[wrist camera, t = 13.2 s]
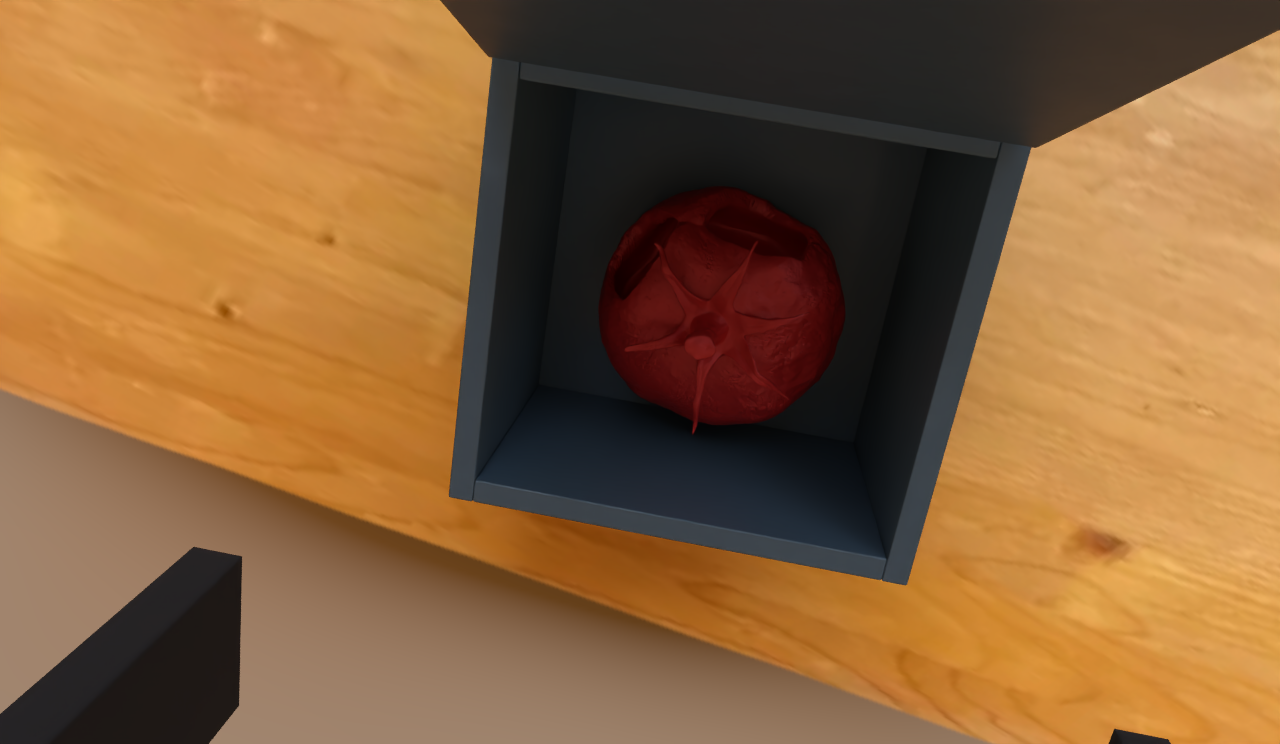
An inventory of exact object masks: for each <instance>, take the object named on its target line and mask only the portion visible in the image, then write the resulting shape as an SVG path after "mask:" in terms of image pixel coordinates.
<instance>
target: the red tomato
mask: <svg viewBox="0 0 1280 744" xmlns="http://www.w3.org/2000/svg"><path fill="white" fill-rule="evenodd" d="M598 309H599V311H598V313H599V327H600V333H601V339H602V343H603V345H604V347H605V349H606V352H607V354H608V357H609V359H610V362H611V363H612V365H613V367H614V369H615V370H616V371H617V373H618V374H619V375H620V376H621V378H622V379H623V380H624V381H625V382H626V384H627V385H628V386H629V388H630V389H631V390H632V391H633V392H634V393H635V394H637V395H638V396H639V397H641V398H643V399H645V400H647V401H649V402H651V403H655V404H657V405H659V406H662V407H664V408H666V409H669V410H671V411H673V412H675V413H676V414H679V415H681V416H682V417H685V418H687V419H689V420H691V421H693V429H692V435H693V434H694V431H695V429H696V427H697V423H698V422H702V423H706V424H711V425H733V424H750V423H759V422H762V421H766V420H768V419H771V418H773V417H775V416H777V415H778V414H780V413H782V412H783V411H784V410H786V408H788V407H789V406H790V405H791V404H792V403H794V402H795V401H796V400H797V399H799V398H800V397H801V396H802V395H803V394H804V393H805V392H807V390H808V389H809V388H810V387H812V386H813V385H814V384H815V383H816V382H818V381H819V380H820V378H821V376H822V375H823V373H824V371H825V370H826V369H827V367H828V366H829V364H830V363H831V361H832V359H833V357H834V355H835V351H836V346H837V343H838V340H839V338H840V336H841V333H842V330H843V327H844V322H845V316H846V313H845V300H844V294H843V291H842V287H841V282H840V277H839V274H838V271H837V267H836V262H835V259H834V256H833V254H832V252H831V250H830V248H829V246H828V245H827V243H826V242H825V241H824V239H823V238H822V236H821V235H820V234H819V232H818V231H817V230H816V229H814V228H812V227H810V226H808V225H806V224H804V223H802V222H800V221H799V220H797V219H795V218H793V217H792V216H791V215H789V214H787V213H785V212H783V211H782V210H780V209H778V208H776V207H774V205H773V204H772V203H771V202H770V201H768V200H766V199H763V198H760V197H757V196H755V195H752V194H750V193H748V192H746V191H744V190H742V189H739V188H735V187H728V186H712V187H706V188H703V189H699V190H691V191H686V192H682V193H679V194H676V195H674V196H672V197H670V198H668V199H666V200H664V201H662V202H660V203H658V204H657V205H655V206H654V207H652V208H651V209H650V210H648V211H647V212H645V213H644V214H643V215H642V216H641V217H640V218H639V219H638V220H637V221H636V223H635V224H633V225H632V226H631V227H629V229H628V230H627V231H626V232H625V233H624V234H623V237H621V240H620V242H619V244H618V247H617V249H616V251H615V252H614V253H613V255H612V257H611V259H610V261H609V264H608V266H607V269H606V273H605V277H604V280H603V286H602V288H601V294H600V300H599V306H598Z"/></svg>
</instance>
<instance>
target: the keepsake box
mask: <svg viewBox="0 0 1280 744" xmlns="http://www.w3.org/2000/svg"><path fill="white" fill-rule="evenodd" d="M1030 150H1031V147H1028V146H1022V145H1016V144H1010V143H1004V142H998V141H992V140H985V139H979V138H973V137H967V136H961V135H955V134H949V133H943V132H937V131H931V130H925V129H919V128H913V127H907V126H901V125H895V124H889V123H883V122H877V121H871V120H865V119H859V118H853V117H847V116H841V115H835V114H829V113H823V112H817V111H811V110H805V109H799V108H793V107H787V106H781V105H775V104H769V103H763V102H757V101H751V100H745V99H739V98H733V97H727V96H721V95H715V94H709V93H703V92H697V91H691V90H685V89H679V88H673V87H667V86H661V85H655V84H649V83H643V82H637V81H631V80H625V79H619V78H613V77H607V76H601V75H595V74H589V73H583V72H577V71H571V70H565V69H559V68H553V67H547V66H541V65H535V64H529V63H523V62H517V61H511V60H504V59H498V58H492V67H491V77H490V87H489V97H488V107H487V117H486V127H485V137H484V147H483V157H482V167H481V177H480V187H479V198H478V208H477V218H476V228H475V238H474V248H473V258H472V268H471V278H470V288H469V298H468V308H467V318H466V328H465V338H464V348H463V359H462V369H461V379H460V389H459V399H458V409H457V419H456V429H455V439H454V449H453V459H452V469H451V479H450V489H449V497H452V498H457V499H462V500H467V501H472V500H473V501H474V502H479V503H484V504H489V505H495V506H500V507H505V508H510V509H515V510H520V511H526V512H531V513H536V514H541V515H546V516H551V517H557V518H562V519H567V520H572V521H577V522H582V523H588V524H593V525H598V526H603V527H608V528H613V529H619V530H624V531H629V532H634V533H639V534H644V535H650V536H655V537H660V538H665V539H670V540H675V541H681V542H686V543H691V544H696V545H701V546H706V547H712V548H717V549H722V550H727V551H732V552H737V553H743V554H748V555H753V556H758V557H763V558H768V559H774V560H779V561H784V562H789V563H794V564H799V565H805V566H810V567H815V568H820V569H825V570H830V571H836V572H841V573H846V574H851V575H856V576H862V577H867V578H872V579H877V580H881V579H882V581H886V582H891V583H896V584H901V585H907V583H908V579H909V576H910V572H911V569H912V565H913V561H914V558H915V554H916V551H917V547H918V544H919V540H920V537H921V533H922V530H923V526H924V523H925V519H926V516H927V512H928V509H929V505H930V502H931V498H932V495H933V491H934V488H935V484H936V481H937V477H938V474H939V470H940V467H941V463H942V460H943V456H944V452H945V449H946V445H947V442H948V438H949V435H950V431H951V428H952V424H953V421H954V417H955V414H956V410H957V407H958V403H959V400H960V396H961V393H962V389H963V386H964V382H965V379H966V375H967V372H968V368H969V365H970V361H971V358H972V354H973V350H974V347H975V343H976V340H977V336H978V333H979V329H980V326H981V322H982V319H983V315H984V312H985V308H986V305H987V301H988V298H989V294H990V291H991V287H992V284H993V280H994V277H995V273H996V270H997V266H998V263H999V259H1000V256H1001V252H1002V249H1003V245H1004V241H1005V238H1006V234H1007V231H1008V227H1009V224H1010V220H1011V217H1012V213H1013V210H1014V206H1015V203H1016V199H1017V196H1018V192H1019V189H1020V185H1021V182H1022V178H1023V175H1024V171H1025V168H1026V164H1027V161H1028V157H1029V154H1030ZM712 186H728V187H735V188H739V189H742V190H744V191H746V192H748V193H750V194H752V195H755V196H757V197H760V198H763V199H766V200H768V201H770V202H771V203H772V204H773V205H774V207H776V208H778V209H780V210H782V211H783V212H785V213H787V214H789V215H791V216H792V217H793V218H795V219H797V220H799V221H800V222H802V223H804V224H806V225H808V226H810V227H812V228H814V229H816V230H817V231H818V232H819V234H820V235H821V236H822V238H823V239H824V241H825V242H826V243H827V245H828V246H829V248H830V250H831V252H832V254H833V256H834V259H835V262H836V267H837V271H838V274H839V277H840V282H841V287H842V291H843V294H844V300H845V313H846V316H845V322H844V327H843V330H842V333H841V336H840V338H839V340H838V343H837V346H836V351H835V355H834V357H833V359H832V361H831V363H830V364H829V366H828V367H827V369H826V370H825V371H824V373H823V375H822V376H821V378H820V380H819V381H818V382H816V383H815V384H814V385H813V386H812V387H810V388H809V389H808V390H807V392H805V393H804V394H803V395H802V396H801V397H800V398H799V399H797V400H796V401H795V402H794V403H792V404H791V405H790V406H789V407H788V408H786V410H784V411H783V412H782V413H780V414H778V415H777V416H775V417H773V418H771V419H768V420H766V421H762V422H759V423H750V424H733V425H711V424H706V423H702V422H698V423H697V427H696V429H695V431H694V434H693V435H692V429H693V421H691V420H689V419H687V418H685V417H682V416H681V415H679V414H676V413H675V412H673V411H671V410H669V409H666V408H664V407H662V406H659V405H657V404H655V403H651V402H649V401H647V400H645V399H643V398H641V397H639V396H638V395H637V394H635V393H634V392H633V391H632V390H631V389H630V388H629V386H628V385H627V384H626V382H625V381H624V380H623V379H622V378H621V376H620V375H619V374H618V373H617V371H616V370H615V369H614V367H613V365H612V363H611V362H610V359H609V357H608V354H607V352H606V349H605V347H604V345H603V343H602V339H601V333H600V327H599V313H598V311H599V309H598V306H599V300H600V294H601V288H602V286H603V280H604V277H605V273H606V269H607V266H608V264H609V261H610V259H611V257H612V255H613V253H614V252H615V251H616V249H617V247H618V244H619V242H620V240H621V237H623V234H624V233H625V232H626V231H627V230H628V229H629V227H631V226H632V225H633V224H635V223H636V221H637V220H638V219H639V218H640V217H641V216H642V215H643V214H644V213H645V212H647V211H648V210H650V209H651V208H652V207H654V206H655V205H657V204H658V203H660V202H662V201H664V200H666V199H668V198H670V197H672V196H674V195H676V194H679V193H682V192H686V191H691V190H699V189H703V188H706V187H712Z"/></svg>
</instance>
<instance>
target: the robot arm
mask: <svg viewBox="0 0 1280 744" xmlns="http://www.w3.org/2000/svg"><path fill="white" fill-rule="evenodd" d="M241 575H242V557H241V556H237V555H232V554H227V553H222V552H217V551H212V550H207V549H201V548H197V547H193V548H192V549H191V550H189V551H188V552H187V553H186V554H185V555H184V556H183V557H181V558H180V559H179V560H178V561H177V562H176V563H174V564H173V565H172V566H171V567H170V568H169V569H168V570H166V571H165V572H164V573H163V574H162V575H161V576H159V577H158V578H157V579H156V580H155V581H154V582H153V583H151V584H150V585H149V586H148V587H147V588H145V589H144V590H143V591H142V592H141V593H140V594H139V595H137V596H136V597H135V598H134V599H133V600H132V601H130V602H129V603H128V604H127V605H126V606H125V607H124V608H122V609H121V610H120V611H119V612H118V613H117V614H115V615H114V616H113V617H112V618H111V619H110V620H109V621H108V622H106V623H105V624H104V625H103V626H102V627H100V628H99V629H98V630H97V631H96V632H95V633H93V634H92V635H91V636H90V637H89V638H88V639H86V640H85V641H84V642H83V643H82V644H81V645H79V646H78V647H77V648H76V649H75V650H74V651H73V652H71V653H70V654H69V655H68V656H67V657H66V658H65V659H63V660H62V661H61V662H60V663H59V664H58V665H56V666H55V667H54V668H53V669H52V670H51V671H49V672H48V673H47V674H46V675H45V676H44V677H42V678H41V679H40V680H39V681H38V682H37V683H36V684H34V685H33V686H32V687H31V688H30V689H29V690H27V691H26V692H25V693H24V694H23V695H22V696H20V697H19V698H18V699H17V700H16V701H15V702H14V703H12V704H11V705H10V706H9V707H8V708H7V709H5V710H4V711H3V712H2V713H1V714H0V744H209V743H210V741H211V740H212V739H213V738H214V736H215V735H216V734H217V732H218V731H219V730H220V729H221V727H222V726H223V725H224V724H225V722H226V721H227V720H228V719H229V717H230V716H231V715H232V714H233V712H234V711H235V710H236V709H237V707H238V706H239V680H240V679H239V677H240V625H241V577H242V576H241ZM1109 744H1171V743H1170V742H1169V740H1168V739H1163V738H1158V737H1153V736H1148V735H1143V734H1138V733H1133V732H1128V731H1123V730H1118V729H1114V731H1113V734H1112V736H1111V739H1110V742H1109Z"/></svg>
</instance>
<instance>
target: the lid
mask: <svg viewBox="0 0 1280 744" xmlns="http://www.w3.org/2000/svg"><path fill="white" fill-rule="evenodd" d="M440 1H441V2H442V3H443V4H444V5H445V6H446V8H447V9H448V10H449V11H450V12H451V13H452V15H453V16H454V17H455V18H456V19H457V20H458V22H459V23H460V24H461V25H462V26H463V28H464V29H465V30H466V31H467V32H468V33H469V35H470V36H471V37H472V38H473V39H474V40H475V42H476V43H477V44H478V45H479V46H480V47H481V49H482V50H483V51H484V52H485V53H486V54H487V56H489V57H492V58H498V59H504V60H511V61H517V62H523V63H529V64H535V65H541V66H547V67H553V68H559V69H565V70H571V71H577V72H583V73H589V74H595V75H601V76H607V77H613V78H619V79H625V80H631V81H637V82H643V83H649V84H655V85H661V86H667V87H673V88H679V89H685V90H691V91H697V92H703V93H709V94H715V95H721V96H727V97H733V98H739V99H745V100H751V101H757V102H763V103H769V104H775V105H781V106H787V107H793V108H799V109H805V110H811V111H817V112H823V113H829V114H835V115H841V116H847V117H853V118H859V119H865V120H871V121H877V122H883V123H889V124H895V125H901V126H907V127H913V128H919V129H925V130H931V131H937V132H943V133H949V134H955V135H961V136H967V137H973V138H979V139H985V140H992V141H998V142H1004V143H1010V144H1016V145H1022V146H1028V147H1034V148H1036V147H1039V146H1041V145H1043V144H1045V143H1047V142H1049V141H1051V140H1053V139H1055V138H1058V137H1060V136H1062V135H1064V134H1066V133H1068V132H1070V131H1072V130H1074V129H1076V128H1078V127H1080V126H1082V125H1084V124H1086V123H1088V122H1091V121H1093V120H1095V119H1097V118H1099V117H1101V116H1103V115H1105V114H1107V113H1109V112H1111V111H1113V110H1115V109H1117V108H1119V107H1121V106H1124V105H1126V104H1128V103H1130V102H1132V101H1134V100H1136V99H1138V98H1140V97H1142V96H1144V95H1146V94H1148V93H1150V92H1152V91H1154V90H1157V89H1159V88H1161V87H1163V86H1165V85H1167V84H1169V83H1171V82H1173V81H1175V80H1177V79H1179V78H1181V77H1183V76H1185V75H1187V74H1190V73H1192V72H1194V71H1196V70H1198V69H1200V68H1202V67H1204V66H1206V65H1208V64H1210V63H1212V62H1214V61H1216V60H1218V59H1220V58H1223V57H1225V56H1227V55H1229V54H1231V53H1233V52H1235V51H1237V50H1239V49H1241V48H1243V47H1245V46H1247V45H1249V44H1251V43H1253V42H1256V41H1258V40H1260V39H1262V38H1264V37H1266V36H1268V35H1270V34H1272V33H1274V32H1276V31H1278V30H1280V0H440Z"/></svg>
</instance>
